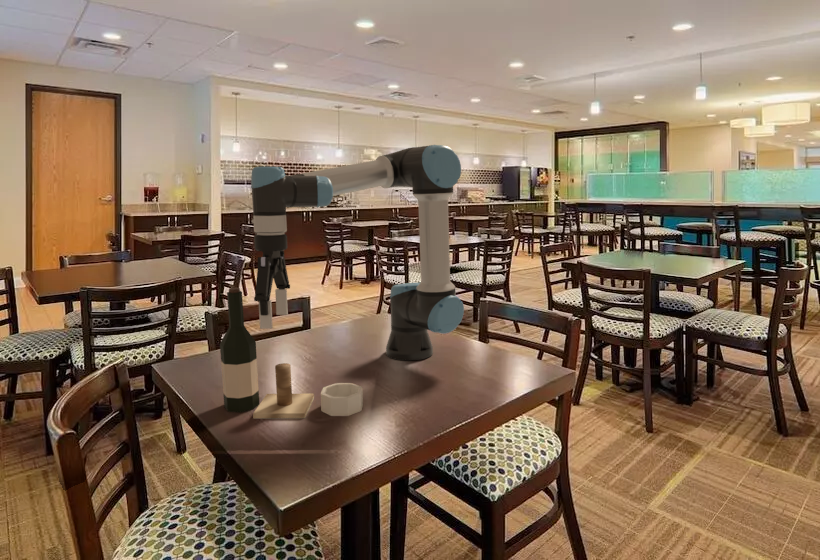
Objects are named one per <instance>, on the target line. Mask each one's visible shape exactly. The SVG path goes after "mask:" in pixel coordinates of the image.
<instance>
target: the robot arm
mask: <svg viewBox="0 0 820 560" xmlns="http://www.w3.org/2000/svg"><path fill="white" fill-rule="evenodd" d="M461 175H462V165H461V161H460V158H459V156H458V154H457V153H456V152H455V151H454V150H453V149H452V148H451V147H450V146H447V145H444V144H443V145H442V144H430V145H423V146H416V147H415V146H414V147H413V146H412V147H408V148H403V149H401V150H398V151H394V152H392V153H388V154H383V155H379V156H376V159H375V160H370V161H364V162H359V163H353V164H347V165H342V166H336V167H332V168H331V167H330V168H325V169H320V170H314V171H309V172H303V173H299V174H293V175H286V172H285V168H283V167H282V166H256V167H253V169H251V176H250V177H251V180H250V182H251V183H250V184H251V185H250V188H251V200H252V214H253V219H251V223H252V224H253V231H254V233H256V234H255V235H254V236H253V240H254V242H253V243H254V250H255V251H257V252H262V256H258V257H257V271H256V273H257V274H256V282H255V294H254V297H253V300H254V302H258V313H259V314H258V316H259V319H258V320H259V329H261V330H268V329H269V330H272V329H273V309H272V307H273V305H272V300H270V299H271V294H272V289H273V281H274V284H275V287H276V289H275V290H274V292H275V294H274V295H275V313H276V316H288V314H289V312H288V290H289V289H291V284H289V283H290V280H289V275H288V270H287V264H286V259H285V251H286V250H287V249H288V235H287V234H286V233H287V231H288V228H287V227H288V224H287V208H320V207H327V206H329V205H330V204H331V203H332V201H333V197H335V196H340V195H345V194H350V193H354V192H359V191H364V190H368V189H369V190H370V189H374V188H378V187H380V188H381V187H382V188H383V189H390V188H412V195H413V196H414V198H415V199H416V200H417V204H418V206H417V207H418V228H419V230H418V231H419V232H418V233H419V253H420V254H419V256H420V257H419V259H420V260H419V261H420V282H407V283H405V282H404V283H398V284H395V285H394V284H393V285H392V286H391V289H390V296H389V299H390V332H389V336H388V339H387V342H386V346H385V347H386V348H385V354H386V356H387V357H388V358H390V359H394V360H397V361H418V360H419V361H420V360H424V359H428V358H429V357H431V356H433V354H434V353H433V352H434V349H433V347H434V346H433V344H432V340H431V337H430V334H429V331H431V332H432V333H434V334H435V333H436V334H438V333H439V334H443V335H444V334H449V333H451V332H453V331H454V330H456V329H457V328H458V326H459V325H460V324H461V322H462V320H463V317H464V315H465V314H464V313H465V306H464V303H463V301H462V300H461V299H460V298H459V296H457V295H456V286H455V285H456V284H454V283H453V282H452V281H451V270H450V269H451V265H450V264H451V263H450V259H451V258H450V227H449V224H450V223H449V222H450V221H449V200H450V197H451V196H452V195H453V194H454V186H455V185H457V183H458V182H459V180H460V178H461Z"/></svg>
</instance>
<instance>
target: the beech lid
mask: <svg viewBox="0 0 820 560" xmlns="http://www.w3.org/2000/svg"><path fill="white" fill-rule="evenodd" d="M274 367H275V368H274V369H275V386H276V387H275V388H276V393H266V394H265V396H264V398H263V399H262V401H260V402H259V405H258V406H257V407H256V408H255V409H254V410H253V413H252V417H253V418H278V419H305V418H306V417H307V415H306V414H308V413H309V411H310V408H311V406H312V404H313V402H312V401H314V400H313V399H315V393H293V390H292V389H293V388H292V369H291V367H292V366H291V364H290V363H288V362H287V363H283V362H282V363H277V364H276V365H275V366H274ZM305 416H306V417H305ZM253 418H252V419H253Z"/></svg>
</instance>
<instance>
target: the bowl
mask: <svg viewBox="0 0 820 560" xmlns="http://www.w3.org/2000/svg"><path fill="white" fill-rule="evenodd" d="M363 391H364V390H363V387H362V386H360V385H359V384H355V383H352V382H335V383H333V384H329V385H327V386H323V388H322V389H321V392H320V410H321V412H323V413H325V414H327V415H328V416H330V417H350V416H351V415H354V414H357V413H359V412H362V409H363V405H364V399H363V398H364V397H363Z"/></svg>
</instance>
